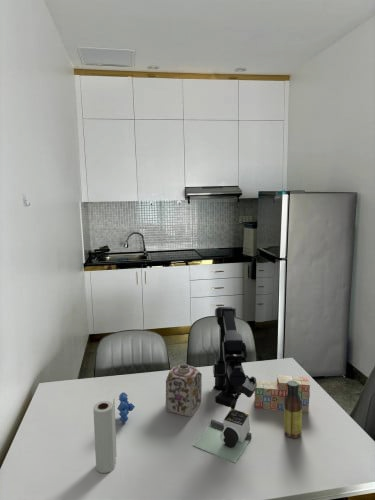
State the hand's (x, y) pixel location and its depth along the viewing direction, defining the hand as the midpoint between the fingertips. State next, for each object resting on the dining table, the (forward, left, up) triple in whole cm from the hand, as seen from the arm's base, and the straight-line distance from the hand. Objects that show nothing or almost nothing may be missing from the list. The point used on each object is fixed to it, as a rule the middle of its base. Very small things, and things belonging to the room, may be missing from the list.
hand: (232, 409), depth 135 cm
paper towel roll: (-27, -39, -8) cm, 48 cm away
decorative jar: (-23, +2, -8) cm, 24 cm away
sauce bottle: (+20, +8, -8) cm, 23 cm away
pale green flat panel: (0, -10, -8) cm, 13 cm away
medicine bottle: (+3, 0, -3) cm, 4 cm away
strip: (0, -2, -8) cm, 8 cm away
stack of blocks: (+11, +23, -8) cm, 27 cm away
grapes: (-37, -18, -8) cm, 42 cm away
